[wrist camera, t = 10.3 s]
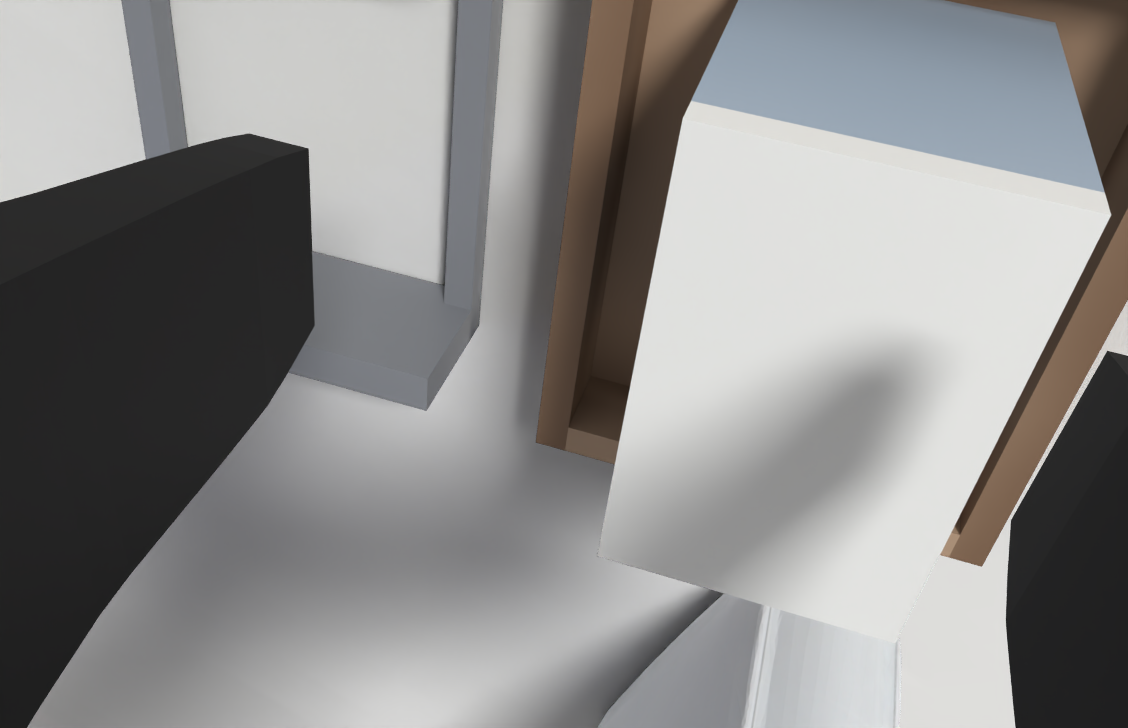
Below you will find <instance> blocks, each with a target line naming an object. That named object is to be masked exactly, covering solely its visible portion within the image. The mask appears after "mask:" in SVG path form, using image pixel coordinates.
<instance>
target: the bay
mask: <svg viewBox="0 0 1128 728" xmlns="http://www.w3.org/2000/svg"><path fill="white" fill-rule="evenodd" d="M121 1H122V7H123V14H124V20H125V27H126V33H127V40H128V46H129V53H130V59H131V66H132V72H133V79H134V85H135V92H136V98H137V105H138V111H139V117H140V124H141V130H142V137H143V143H144V150H145V156H146V159H149V158H153V157H156V156H159V155H163V154H166V153H170V152H173V151H176V150H180V149H184V148H187V139H186V131H185V123H184V115H183V107H182V99H181V91H180V83H179V75H178V67H177V59H176V51H175V43H174V35H173V27H172V19H171V11H170V4H169V0H121ZM502 9H503V0H458V20H457V41H456V61H455V82H454V103H453V124H452V145H451V166H450V187H449V208H448V229H447V250H446V271H445V286H444V285H441V284H437V283H433V282H429V281H425V280H421V279H417V278H413V277H410V276H406V275H402V274H398V273H394V272H390V271H386V270H383V269H379V268H375V267H371V266H367V265H363V264H359V263H355V262H352V261H348V260H344V259H340V258H336V257H332V256H328V255H324V254H321V253H317V252H313V251H312V262H313V290H314V318H315V326H314V328H313V330H312V331H311V333H310V335H309V337H308V339H307V340H306V342H305V344H304V346H303V347H302V349H301V351H300V353H299V354H298V356H297V358H296V360H295V361H294V363H293V365H292V367H291V368H290V370H289V373H292V374H296V375H300V376H303V377H307V378H310V379H314V380H318V381H321V382H325V383H328V384H332V385H336V386H339V387H343V388H346V389H350V390H353V391H357V392H361V393H364V394H368V395H371V396H375V397H379V398H382V399H386V400H389V401H393V402H397V403H400V404H404V405H407V406H411V407H415V408H418V409H422V410H425V411H427V409H428V407H429V406H430V404H431V403H432V401H433V399H434V398H435V396H436V394H437V393H438V391H439V390H440V388H441V386H442V385H443V383H444V381H445V380H446V378H447V377H448V375H449V373H450V372H451V370H452V368H453V367H454V365H455V364H456V362H457V360H458V359H459V357H460V355H461V354H462V352H463V351H464V349H465V347H466V346H467V344H468V342H469V341H470V339H471V338H472V336H473V334H474V333H475V331H476V329H477V328H478V326H479V318H480V304H481V291H482V277H483V264H484V251H485V237H486V224H487V210H488V197H489V183H490V170H491V157H492V143H493V130H494V116H495V103H496V90H497V76H498V63H499V49H500V36H501V22H502Z"/></svg>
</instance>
